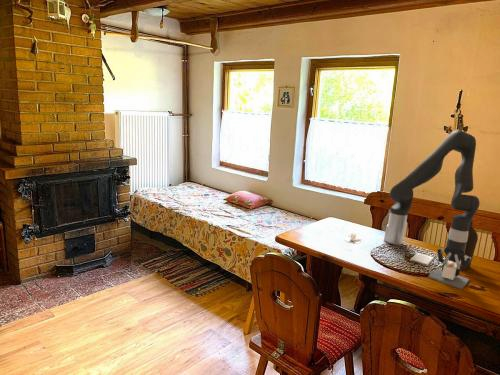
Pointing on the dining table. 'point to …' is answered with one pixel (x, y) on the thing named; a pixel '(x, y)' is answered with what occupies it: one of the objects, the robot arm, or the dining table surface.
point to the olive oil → (469, 245)
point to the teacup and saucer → (353, 238)
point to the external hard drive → (422, 259)
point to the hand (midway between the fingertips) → (449, 273)
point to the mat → (456, 282)
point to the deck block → (449, 270)
